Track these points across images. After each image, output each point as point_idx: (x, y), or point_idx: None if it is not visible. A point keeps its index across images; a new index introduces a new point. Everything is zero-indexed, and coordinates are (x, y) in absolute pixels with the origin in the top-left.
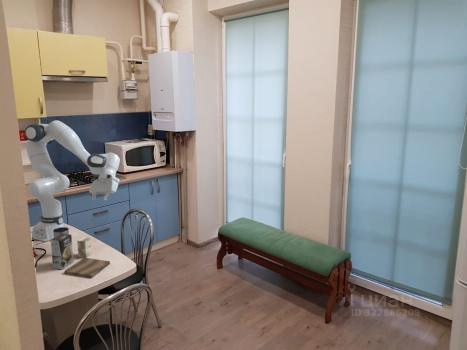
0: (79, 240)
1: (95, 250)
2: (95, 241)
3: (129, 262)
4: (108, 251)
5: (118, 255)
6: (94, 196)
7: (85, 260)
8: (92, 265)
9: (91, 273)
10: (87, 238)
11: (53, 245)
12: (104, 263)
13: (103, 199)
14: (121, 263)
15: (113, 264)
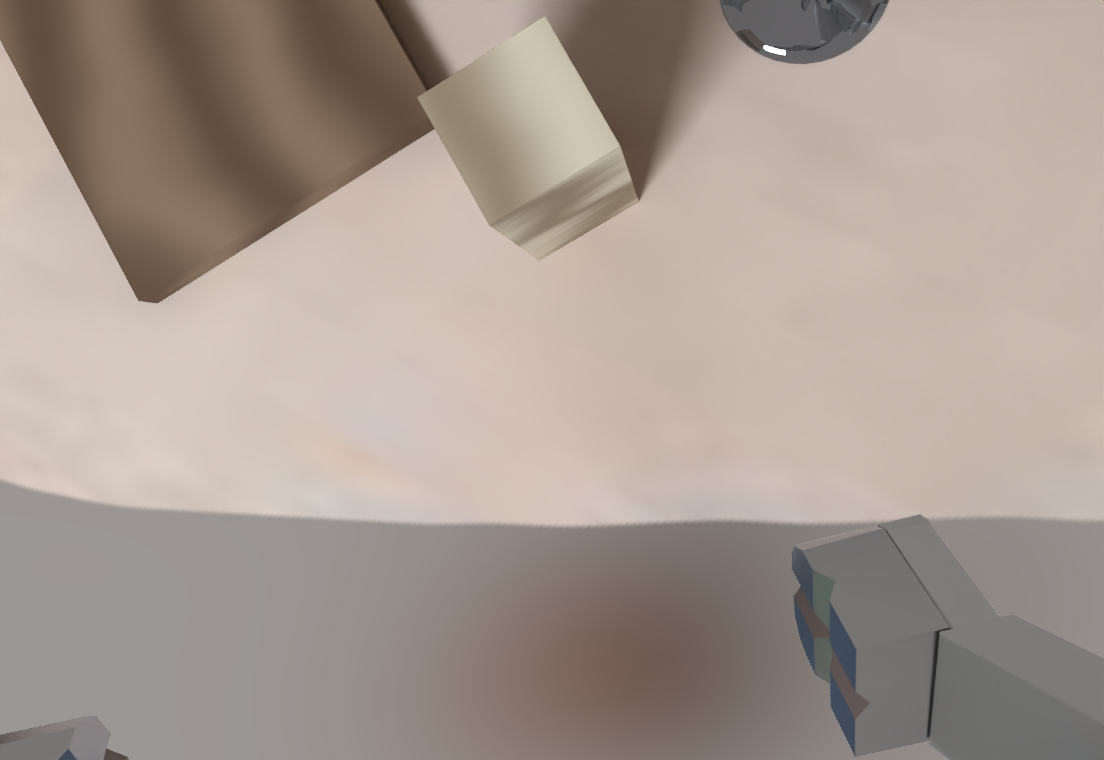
0: (517, 43)
1: (616, 351)
2: (914, 497)
3: (46, 482)
4: (470, 460)
5: (283, 489)
6: (997, 734)
7: (348, 91)
8: (176, 101)
9: (18, 14)
10: (509, 179)
11: None
12: (130, 227)
13: (27, 730)
14: (83, 404)
15: (120, 325)
